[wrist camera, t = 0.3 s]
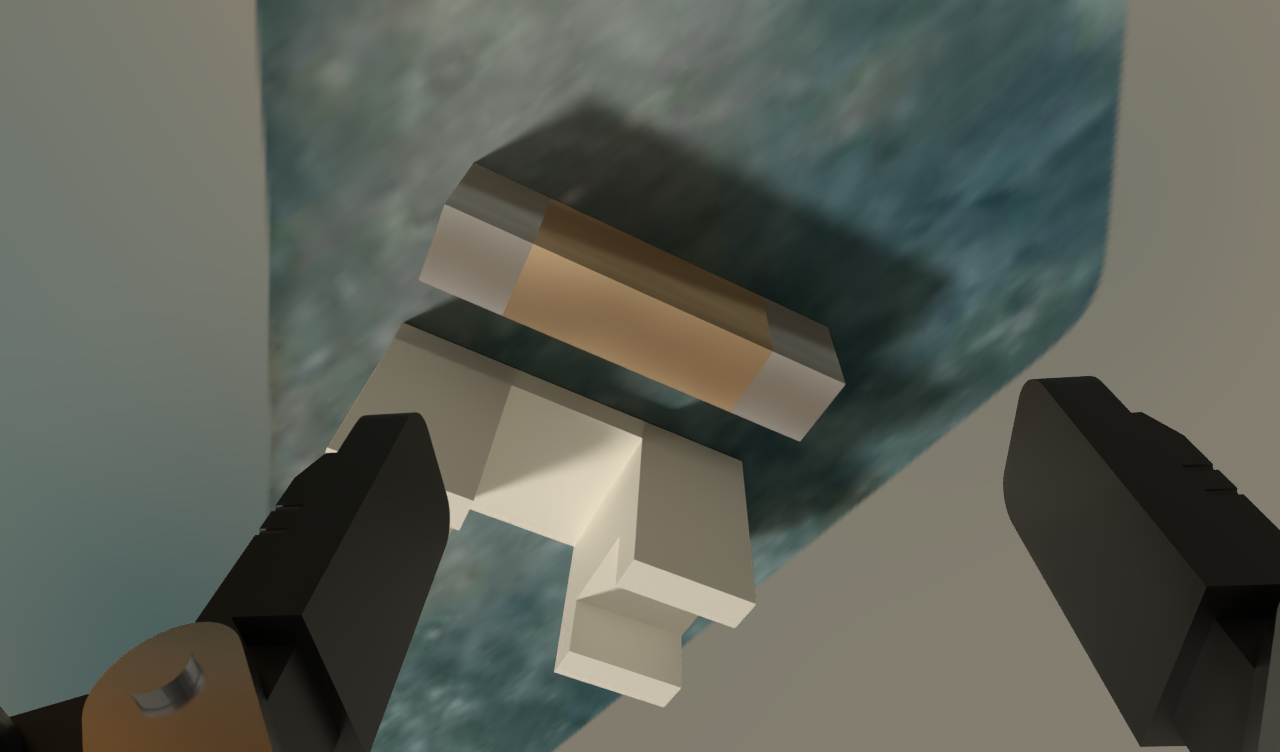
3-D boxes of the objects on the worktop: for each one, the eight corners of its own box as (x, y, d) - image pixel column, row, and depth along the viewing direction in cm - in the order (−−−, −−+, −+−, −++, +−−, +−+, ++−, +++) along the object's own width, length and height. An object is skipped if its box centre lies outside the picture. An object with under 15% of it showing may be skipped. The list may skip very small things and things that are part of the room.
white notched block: (403, 322, 31) (327, 447, 24) (741, 461, 34) (756, 604, 27) (359, 448, 35) (284, 585, 28) (666, 561, 38) (663, 707, 31)
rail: (473, 162, 27) (444, 204, 24) (827, 327, 30) (845, 384, 27) (449, 232, 28) (418, 280, 25) (787, 381, 32) (800, 441, 28)
